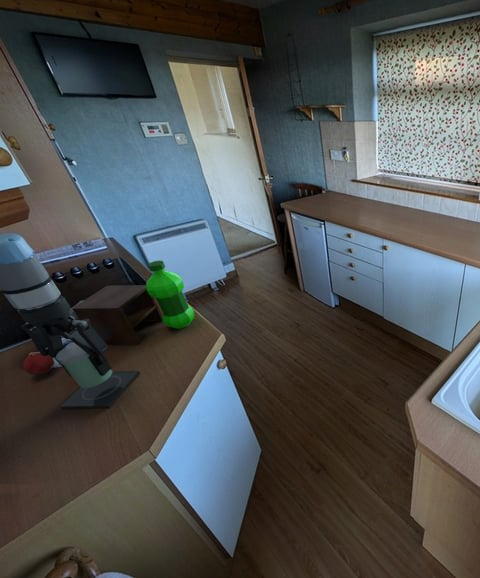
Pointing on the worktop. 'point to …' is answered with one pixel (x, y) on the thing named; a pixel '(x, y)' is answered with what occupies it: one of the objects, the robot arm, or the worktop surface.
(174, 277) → the plastic bottle
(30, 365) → the red rounded lump
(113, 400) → the hob
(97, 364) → the robot arm
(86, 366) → the jar
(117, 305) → the shelf rack
